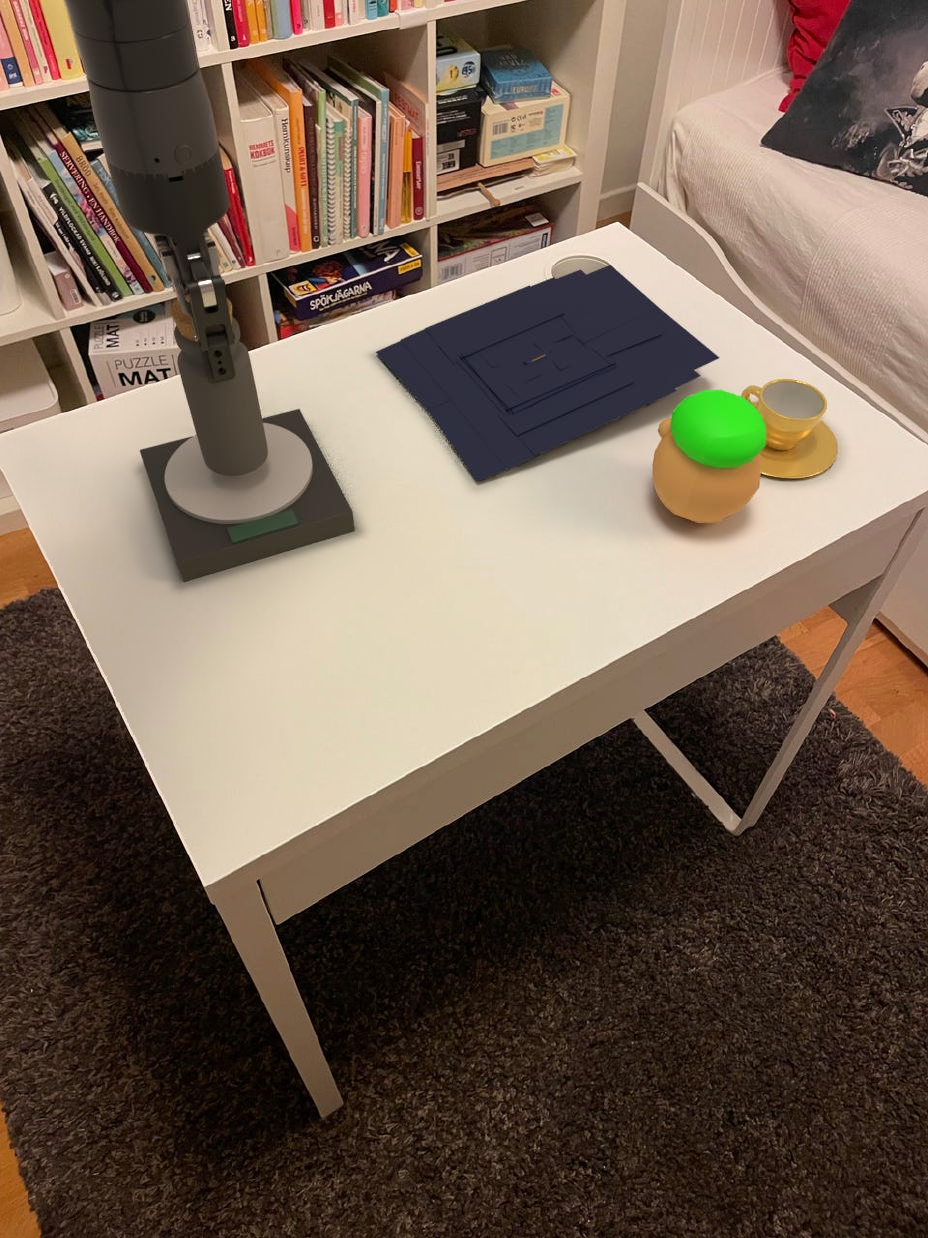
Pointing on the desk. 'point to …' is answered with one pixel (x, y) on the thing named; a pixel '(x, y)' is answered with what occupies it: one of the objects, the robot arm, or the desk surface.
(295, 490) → the scale
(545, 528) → the desk surface
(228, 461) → the bottle
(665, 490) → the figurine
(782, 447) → the cup
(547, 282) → the papers
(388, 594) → the desk surface
